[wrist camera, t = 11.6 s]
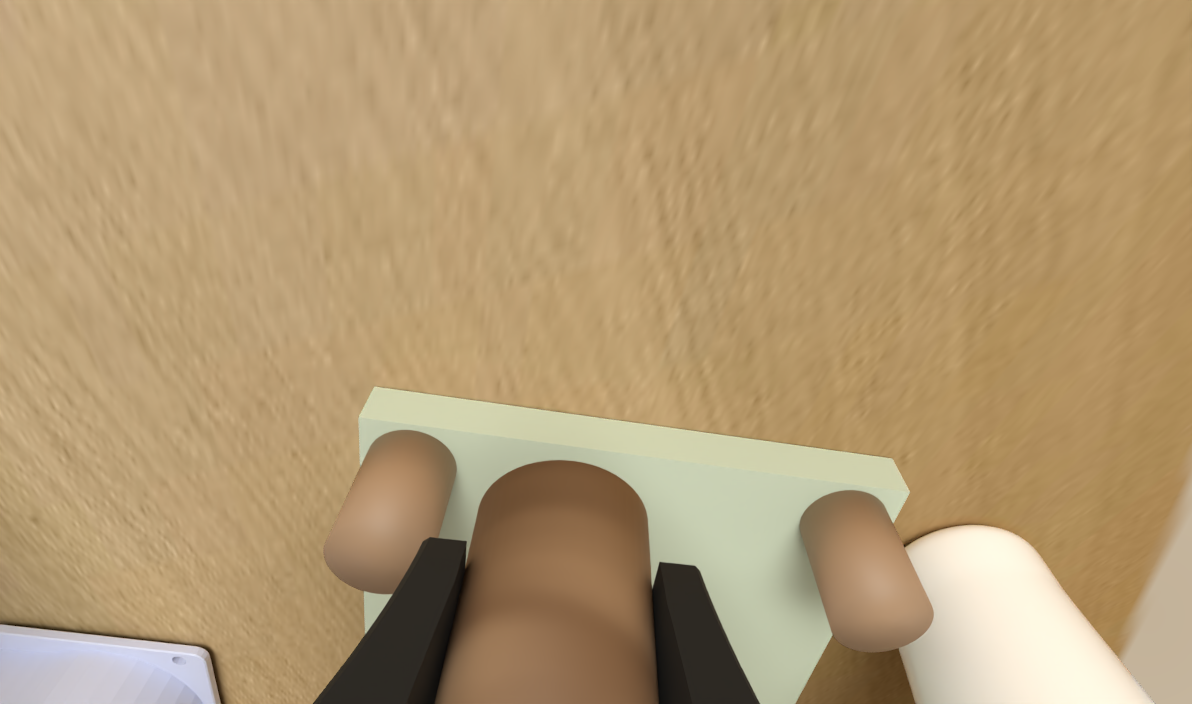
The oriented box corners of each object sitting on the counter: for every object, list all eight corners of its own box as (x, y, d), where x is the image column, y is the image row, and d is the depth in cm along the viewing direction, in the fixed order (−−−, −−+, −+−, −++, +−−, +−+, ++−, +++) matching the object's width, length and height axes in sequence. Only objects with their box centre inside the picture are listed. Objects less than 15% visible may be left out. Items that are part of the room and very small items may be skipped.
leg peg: (495, 586, 14) (418, 1026, 8) (460, 467, 12) (335, 920, 7) (653, 576, 14) (682, 1022, 8) (640, 453, 12) (665, 913, 6)
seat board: (379, 755, 31) (342, 886, 27) (374, 386, 20) (312, 508, 16) (736, 792, 32) (755, 923, 28) (910, 461, 21) (984, 593, 17)
